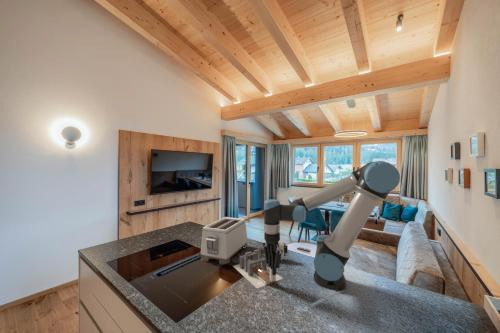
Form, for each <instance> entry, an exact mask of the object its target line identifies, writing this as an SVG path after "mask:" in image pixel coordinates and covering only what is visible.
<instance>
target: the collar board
mask: <svg viewBox="0 0 500 333" xmlns="http://www.w3.org/2000/svg"><path fill="white" fill-rule="evenodd" d="M251 257H252V260H251V259H249V258H251ZM254 264H257V265H258V266H260V267H261V268H263V269H264V270H265V271H267V272H268V273H269V266H268V264H267V263H266V259H265V256H264V257H262V250H261V249H260V248H259V249H254V250H253V252H252V251H247V252H245V254H242V255H239V264H235V265H232V267H233V268H234V269H235V270H237V272H238V273H239V274H241V275H242V276H243V277H244V278H245V279H246V280H247V281H248V282H249V283H250V284H251V285H253V287H255V288H256V289H259V288H263V287H265V286H267V285H269V284H268V283H267V282H266V281H265V280H263V279H262V278H261V277H260V276H258V275H257V274H256V273H255V272H253V265H254ZM283 279H284V277H282V276H281V275H279V274H278V273H276V280H275V281H274V283H276V282H278V281H280V280H283Z"/></svg>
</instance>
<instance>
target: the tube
mask: <svg viewBox="0 0 500 333" xmlns="http://www.w3.org/2000/svg"><path fill="white" fill-rule="evenodd" d="M253 272H255V273H256V274H257V275H258V276H260V277H261V278H262V279H263V280H265V281H266V282H267V283H268V285H270V286H271V285H273V284H274V283H275V282H274V281H273V282H271V281H270V277H269V273H268V272H267V271H265V270H264V269H263V268H261V267H260V266H258V265H257V264H254V265H253Z"/></svg>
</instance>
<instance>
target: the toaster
mask: <svg viewBox="0 0 500 333" xmlns="http://www.w3.org/2000/svg"><path fill="white" fill-rule="evenodd" d="M200 246H201V248H200V256H201V258H200V261H202V262H207V263H208V262H209V261H211V259H212V260H213V259H215V260H218V262H219V263H218V264H219V265H226V264H230V263H231V258H232V257H234V256H235V254H237V253H238V252H239V251H240V250H241V249H243V248H242V247H245V248H244V249H247V248H248V247H249V246H248V233H247V225H246V218H239V217H230V216H224V217H222V218H220V219H218V220H216V221H214V222H211V223H210V224H207V225H205V226H203V227H202V233H201V245H200ZM247 246H248V247H247ZM246 247H247V248H246Z"/></svg>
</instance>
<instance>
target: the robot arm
mask: <svg viewBox="0 0 500 333" xmlns="http://www.w3.org/2000/svg"><path fill="white" fill-rule="evenodd" d="M400 182H401V174H400V172H399V169H398V168H397V167H396V166H395V165H394V164H392V163H389V162H387V161H385V160H384V161H383V160H376V161H370V162H368V163H366V164H364V165H363V166H361V167H359V168H357V169H356V170H354V171H352V172H350V175H348V176H346V177H344V178H341V179H339V180H337V181H336V182H333V183H331V184H329V185H326V186H324V187H322V188H320V189H317V190H316V191H313V192H311V193H309V194H307V195H304V196H303V197H299V198H298V199H294V200H292V201H291V202H290V204H282V203H280V200H279V199H274V198H273V199H272V198H271V199H266V200H265V201H264V202H263V215H264V216H263V220H264V222H263V224H264V225H263V230H264V233H263V234H264V235H263V236H264V237H263V238H264V239H263V240H264V241H265V242H262V245H263V246H262V247H263V252H264V257H265V259H266V263H267V267H268V268H269V277H270V281H271V282H273V281H275V280H276V274H277V269H280V266H281V265H280V264H281V261H280V260H281V257H282V256H281V254H282V252H283V250H280V248H279V244H278V243H279V242H280V241H281V233H280V231H281V226H280V222H282V221H283V222H291V223H297V224H298V223H305V222H306V217H307V216H306V215H307V214H306V213H308V212H309V211H311V210H314V209H316V208H319V207H321V206H324V205H326V204H329V203H331V202H333V201H336V200H338V199H340V198H342V197H345V196H347V195H350V194H352V193H354V192H355V194H354V195H353V197H352V199H351V200H350V203H349V204H348V206H347V207H346V209H345V211H344V212H343V215H342V216H341V217H340V220H339V221H338V223H337V225H336V226H335V229H334V230H333V232H332V234H331V235H330V234H319V235H317V236H316V249H315V255H314V256H315V257H314V258H313V267H314V270H315V271H314V273H313V281H314V283H315V284H316V285H317V286H320V287H321V288H324V289H327V290H333V291H335V292H341V291H344V290H345V289H346V288H347V281H346V277H345V273H344V272H345V266H346V265H347V263H348V261H349V259H350V258H351V253H350V250H351V248H352V246H353V244H354V243H355V241H356V240H357V238H358V236H359V234H360V233H361V231H362V229H363V227H365V225H366V223H367V221H369V220H368V219H369V218H370V216H371V214H372V213H373V211H374V210H375V208H376V206H377V205H378V203H379V202H382V201H385V200H386V199H387V198H388V195H389V194H390V192H392V191H394V190H395V189H396V188H397V187H399V185H400V184H399V183H400ZM275 282H276V281H275Z"/></svg>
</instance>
